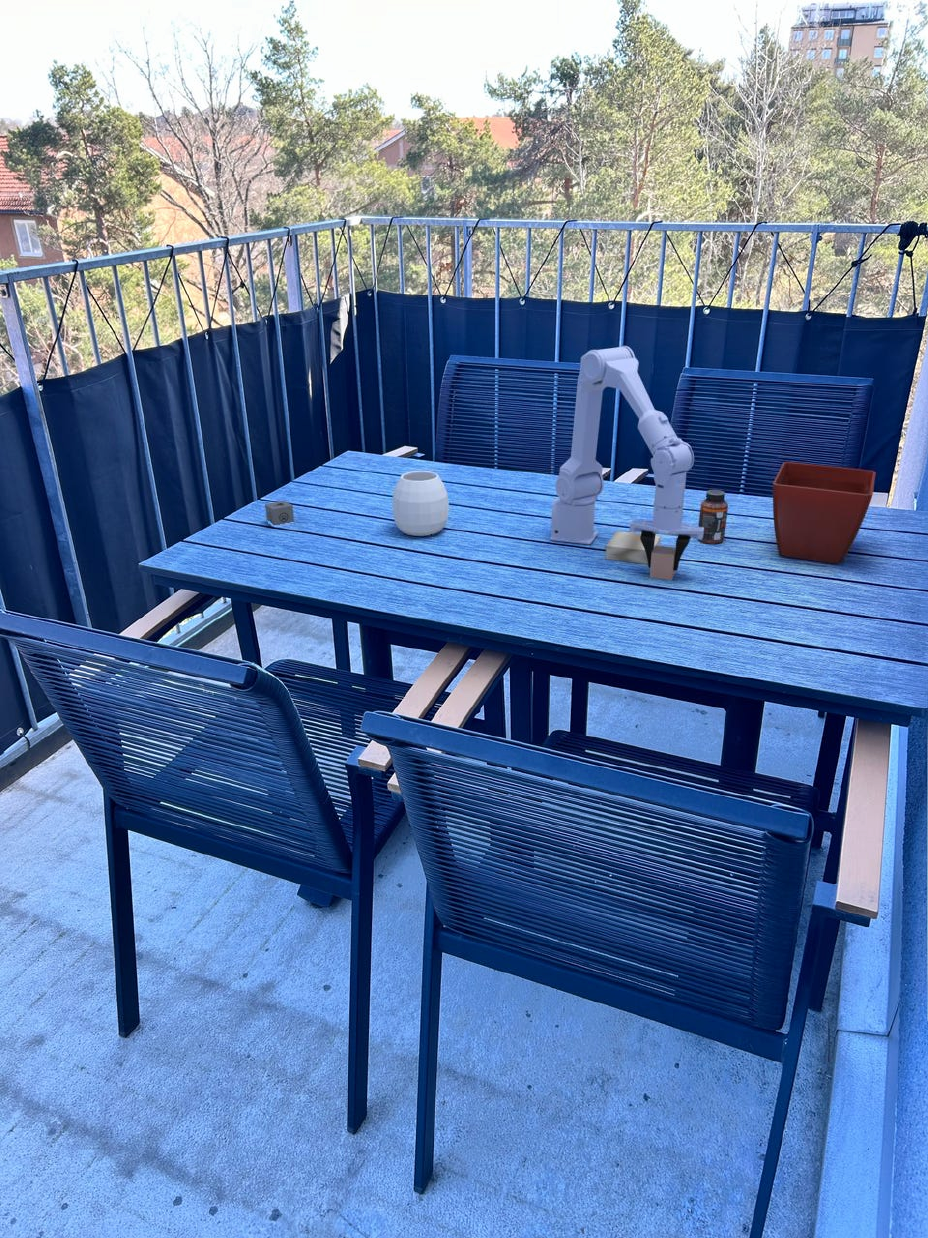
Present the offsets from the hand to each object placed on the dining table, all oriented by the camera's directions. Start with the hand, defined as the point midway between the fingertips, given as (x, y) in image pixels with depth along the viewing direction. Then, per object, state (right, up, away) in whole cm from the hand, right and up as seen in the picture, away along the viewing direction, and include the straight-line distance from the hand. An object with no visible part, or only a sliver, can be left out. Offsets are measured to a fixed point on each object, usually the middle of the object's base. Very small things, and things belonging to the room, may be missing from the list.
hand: (663, 567), depth 183 cm
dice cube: (-86, +12, +33) cm, 93 cm away
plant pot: (+36, +4, +12) cm, 38 cm away
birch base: (-4, +4, +12) cm, 13 cm away
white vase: (-51, +10, +27) cm, 59 cm away
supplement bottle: (+15, +7, +19) cm, 25 cm away
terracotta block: (0, -1, +1) cm, 2 cm away
